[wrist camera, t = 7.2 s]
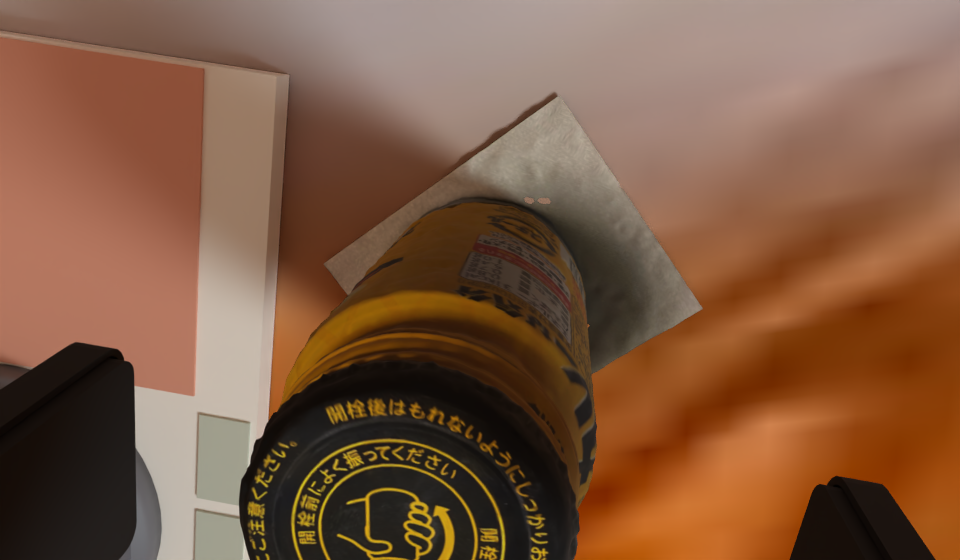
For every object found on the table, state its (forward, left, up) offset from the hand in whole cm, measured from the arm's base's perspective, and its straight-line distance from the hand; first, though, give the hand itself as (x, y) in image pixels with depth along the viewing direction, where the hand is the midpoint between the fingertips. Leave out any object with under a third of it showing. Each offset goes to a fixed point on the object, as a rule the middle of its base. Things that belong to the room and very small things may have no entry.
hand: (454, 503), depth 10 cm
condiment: (-1, 0, -13) cm, 13 cm away
